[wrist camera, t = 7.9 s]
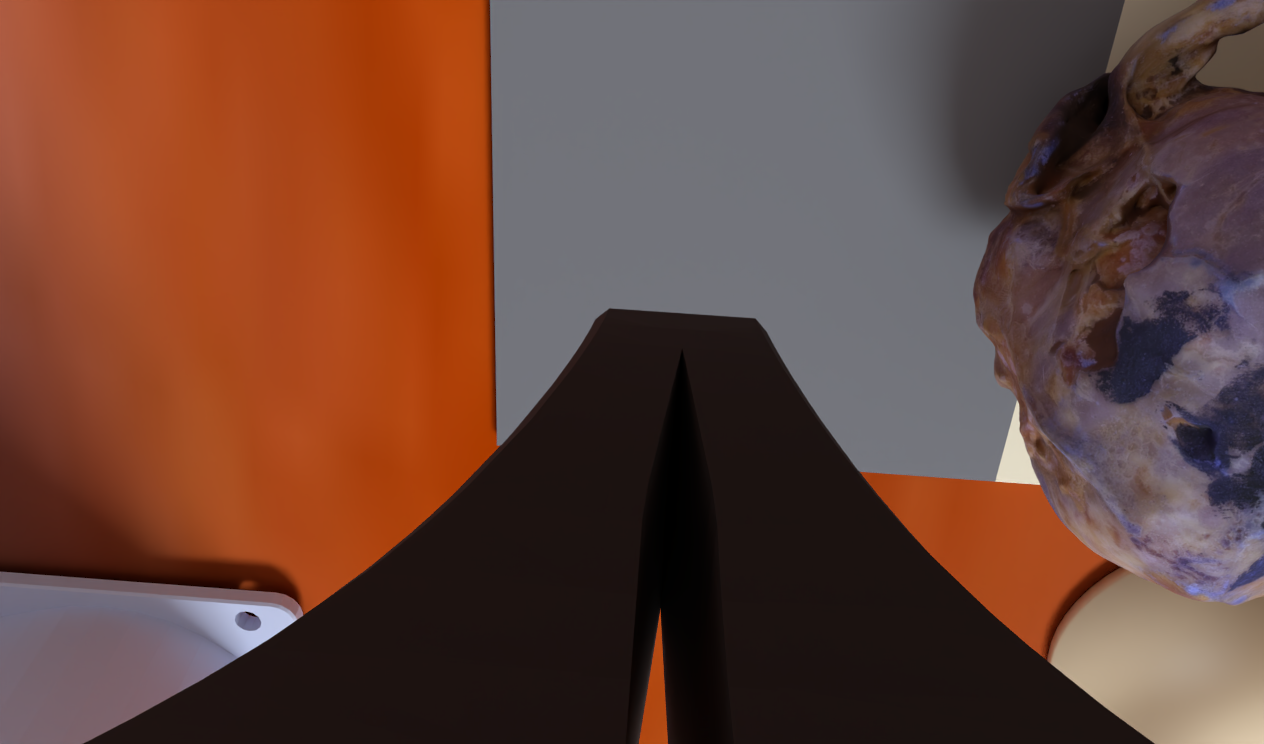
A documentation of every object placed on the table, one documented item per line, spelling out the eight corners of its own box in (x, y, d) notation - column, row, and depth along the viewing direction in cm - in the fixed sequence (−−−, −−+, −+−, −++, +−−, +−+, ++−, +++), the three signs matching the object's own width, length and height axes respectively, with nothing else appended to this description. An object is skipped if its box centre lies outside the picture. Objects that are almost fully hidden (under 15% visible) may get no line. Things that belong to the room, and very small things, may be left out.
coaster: (1017, 743, 25) (1020, 755, 25) (1089, 525, 22) (1094, 536, 21) (1302, 765, 25) (1308, 777, 25) (1417, 550, 22) (1425, 560, 21)
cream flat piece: (499, 438, 21) (474, 531, 19) (484, -518, 14) (442, -547, 12) (1495, 510, 21) (1587, 612, 19) (2031, -434, 14) (2286, -447, 11)
